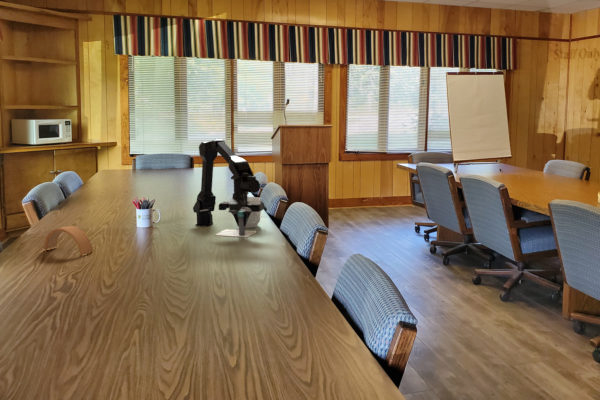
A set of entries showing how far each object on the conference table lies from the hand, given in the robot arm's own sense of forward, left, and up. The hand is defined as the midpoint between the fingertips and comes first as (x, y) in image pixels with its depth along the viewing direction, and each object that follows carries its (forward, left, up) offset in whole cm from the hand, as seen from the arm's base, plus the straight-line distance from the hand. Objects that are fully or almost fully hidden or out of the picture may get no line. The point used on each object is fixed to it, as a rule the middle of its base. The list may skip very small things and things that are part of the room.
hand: (241, 226), depth 234 cm
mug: (-3, +17, -4) cm, 18 cm away
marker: (0, 0, -4) cm, 4 cm away
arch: (-56, -40, -4) cm, 69 cm away
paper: (-4, +3, -4) cm, 6 cm away
